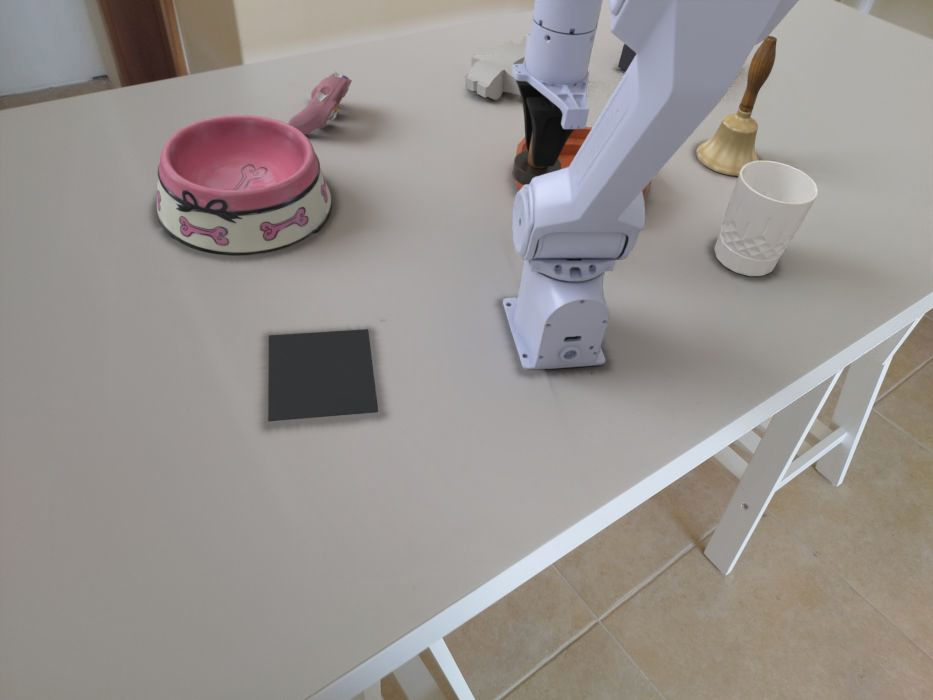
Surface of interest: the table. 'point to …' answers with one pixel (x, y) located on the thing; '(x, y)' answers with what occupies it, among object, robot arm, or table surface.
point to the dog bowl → (240, 186)
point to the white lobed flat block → (496, 70)
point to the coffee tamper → (530, 167)
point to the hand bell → (740, 121)
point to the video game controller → (322, 104)
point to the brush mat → (320, 375)
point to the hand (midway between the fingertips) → (540, 156)
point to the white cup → (763, 216)
